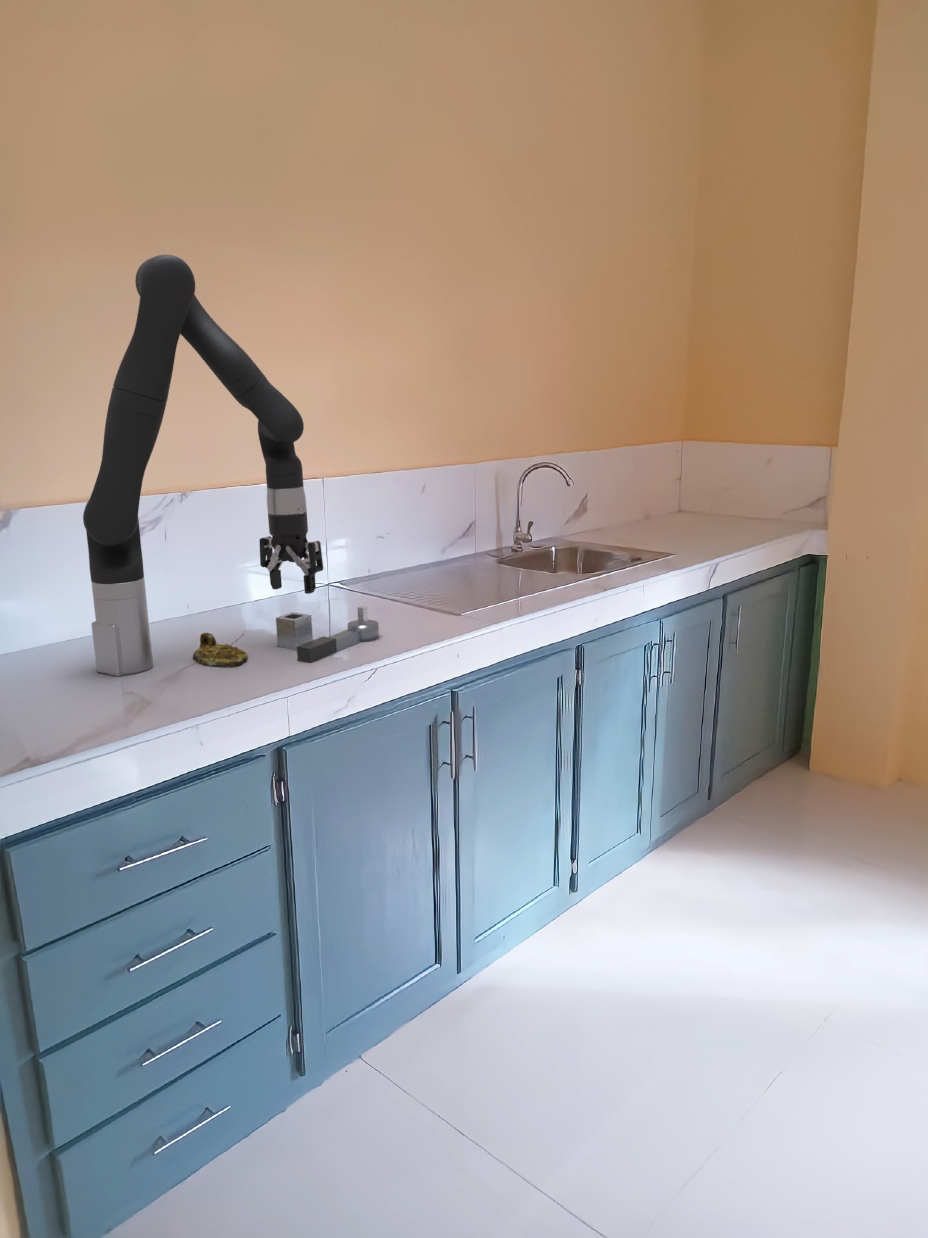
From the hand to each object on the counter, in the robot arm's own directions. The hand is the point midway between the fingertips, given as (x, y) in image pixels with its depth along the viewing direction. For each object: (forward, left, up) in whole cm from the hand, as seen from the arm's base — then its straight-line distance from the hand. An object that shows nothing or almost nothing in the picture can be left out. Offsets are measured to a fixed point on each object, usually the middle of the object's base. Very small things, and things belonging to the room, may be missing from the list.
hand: (293, 590), depth 188 cm
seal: (-14, +7, -12) cm, 20 cm away
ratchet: (+3, -9, -11) cm, 15 cm away
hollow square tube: (0, 0, -11) cm, 11 cm away
